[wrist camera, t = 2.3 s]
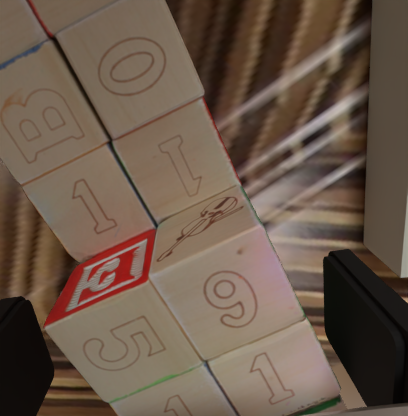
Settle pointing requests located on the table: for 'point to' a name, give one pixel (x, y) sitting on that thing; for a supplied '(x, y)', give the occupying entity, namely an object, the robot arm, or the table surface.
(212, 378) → the stack of blocks
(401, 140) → the base block
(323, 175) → the table surface
